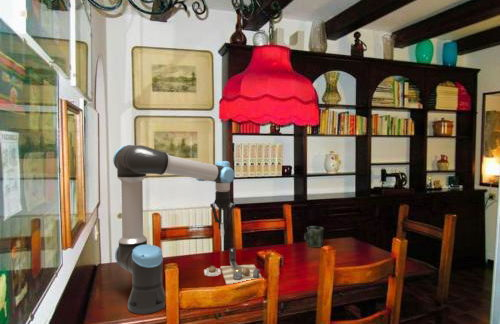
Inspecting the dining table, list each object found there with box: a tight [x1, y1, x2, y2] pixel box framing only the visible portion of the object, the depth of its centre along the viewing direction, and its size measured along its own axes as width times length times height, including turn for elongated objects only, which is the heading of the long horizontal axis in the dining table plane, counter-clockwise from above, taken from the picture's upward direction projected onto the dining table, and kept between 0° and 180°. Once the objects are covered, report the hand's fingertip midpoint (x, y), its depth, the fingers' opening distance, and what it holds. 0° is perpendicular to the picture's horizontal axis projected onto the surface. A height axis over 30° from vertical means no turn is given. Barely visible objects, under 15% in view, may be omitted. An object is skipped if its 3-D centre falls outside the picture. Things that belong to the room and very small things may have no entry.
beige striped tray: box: [219, 264, 263, 285], centre depth 174 cm, size 23×18×5 cm
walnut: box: [243, 268, 250, 276], centre depth 171 cm, size 4×4×4 cm
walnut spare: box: [208, 265, 217, 273], centre depth 175 cm, size 4×4×4 cm
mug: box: [303, 225, 325, 248], centre depth 228 cm, size 11×15×12 cm
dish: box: [203, 267, 222, 277], centre depth 175 cm, size 8×8×2 cm
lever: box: [229, 247, 242, 276], centre depth 174 cm, size 20×5×10 cm, turn 12°
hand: (222, 235), depth 182 cm, fingers closed
